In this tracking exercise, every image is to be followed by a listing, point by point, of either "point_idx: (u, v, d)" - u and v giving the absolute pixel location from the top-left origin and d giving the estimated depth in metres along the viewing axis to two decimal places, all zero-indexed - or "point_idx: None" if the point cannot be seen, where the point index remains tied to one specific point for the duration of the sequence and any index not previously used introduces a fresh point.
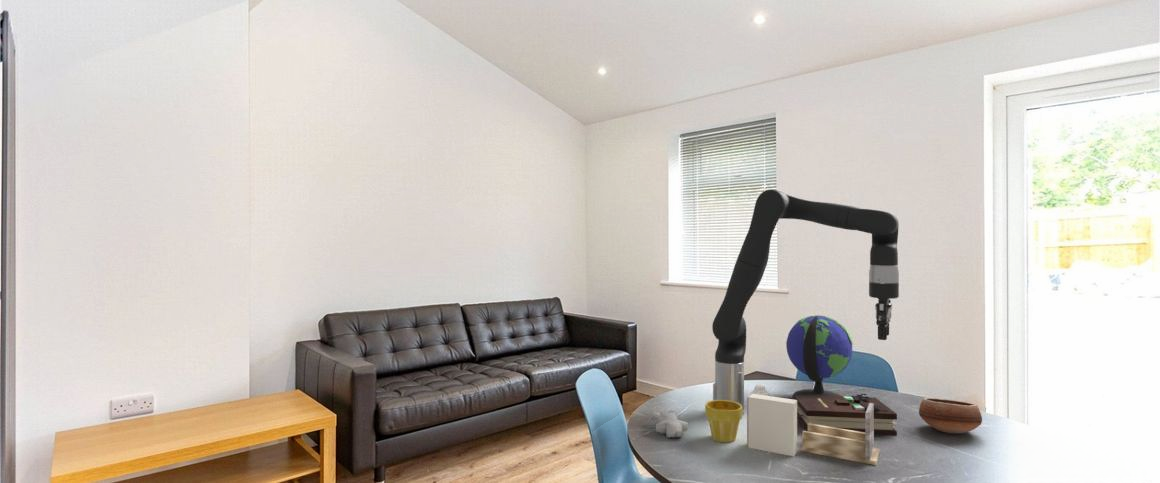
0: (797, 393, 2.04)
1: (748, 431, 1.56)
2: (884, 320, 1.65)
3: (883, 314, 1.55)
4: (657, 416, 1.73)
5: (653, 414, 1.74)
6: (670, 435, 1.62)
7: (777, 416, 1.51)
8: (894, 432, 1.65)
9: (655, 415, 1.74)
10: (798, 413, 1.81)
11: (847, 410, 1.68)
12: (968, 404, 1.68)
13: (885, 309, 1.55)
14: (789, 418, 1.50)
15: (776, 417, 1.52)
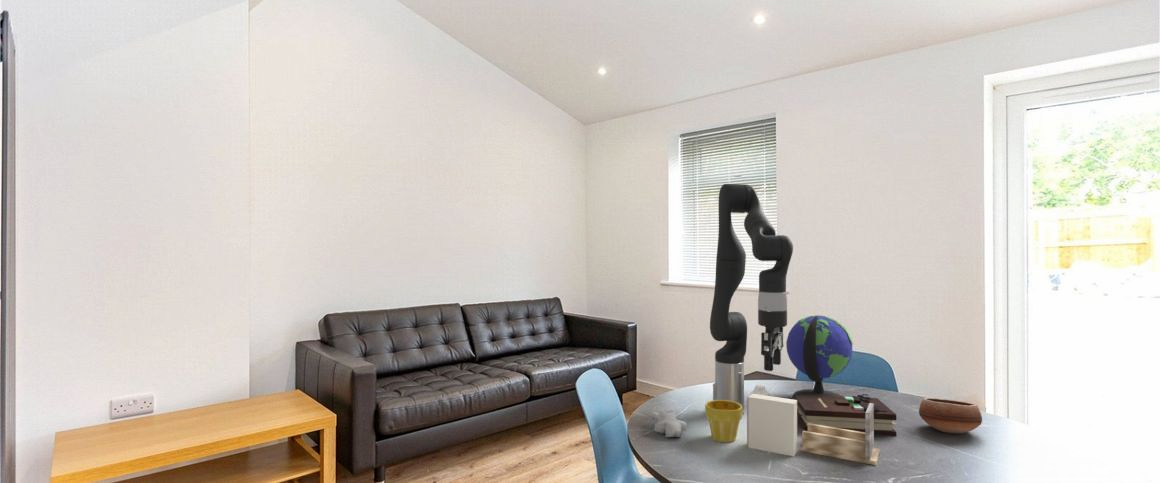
0: (797, 393, 2.04)
1: (748, 431, 1.56)
2: (776, 349, 1.58)
3: (767, 344, 1.48)
4: (656, 416, 1.73)
5: (652, 414, 1.75)
6: (669, 435, 1.62)
7: (777, 416, 1.51)
8: (893, 433, 1.64)
9: (654, 415, 1.74)
10: (798, 413, 1.82)
11: (846, 410, 1.68)
12: (968, 404, 1.68)
13: (769, 339, 1.48)
14: (789, 418, 1.50)
15: (776, 417, 1.52)
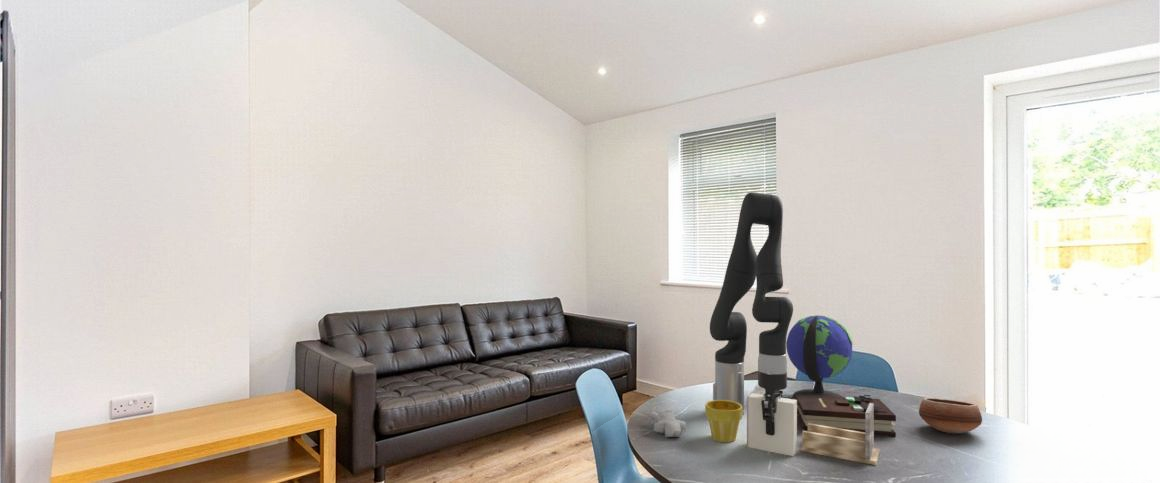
0: (797, 393, 2.04)
1: (748, 431, 1.56)
2: None
3: (768, 412, 1.49)
4: (655, 416, 1.73)
5: (651, 414, 1.75)
6: (669, 435, 1.62)
7: (777, 416, 1.51)
8: (893, 434, 1.64)
9: (653, 415, 1.74)
10: (799, 412, 1.82)
11: (845, 410, 1.68)
12: (968, 404, 1.68)
13: (770, 408, 1.48)
14: (789, 418, 1.50)
15: (776, 417, 1.52)
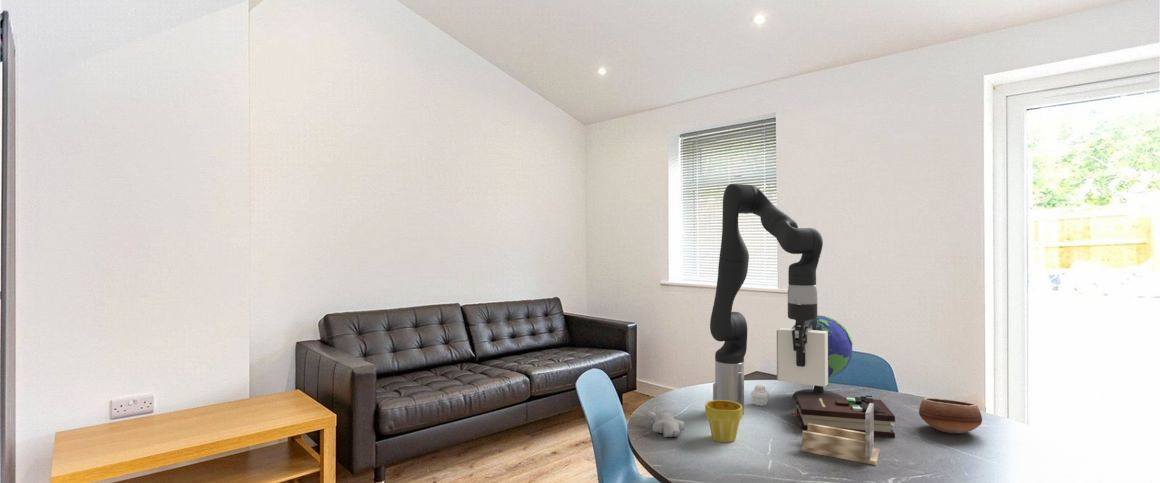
0: (797, 393, 2.04)
1: (778, 364, 1.55)
2: None
3: (799, 342, 1.48)
4: (652, 416, 1.73)
5: (648, 414, 1.75)
6: (668, 435, 1.62)
7: (808, 347, 1.50)
8: (892, 434, 1.63)
9: (650, 415, 1.74)
10: (799, 412, 1.82)
11: (844, 410, 1.68)
12: (968, 404, 1.68)
13: (800, 337, 1.47)
14: (820, 348, 1.49)
15: (807, 348, 1.50)
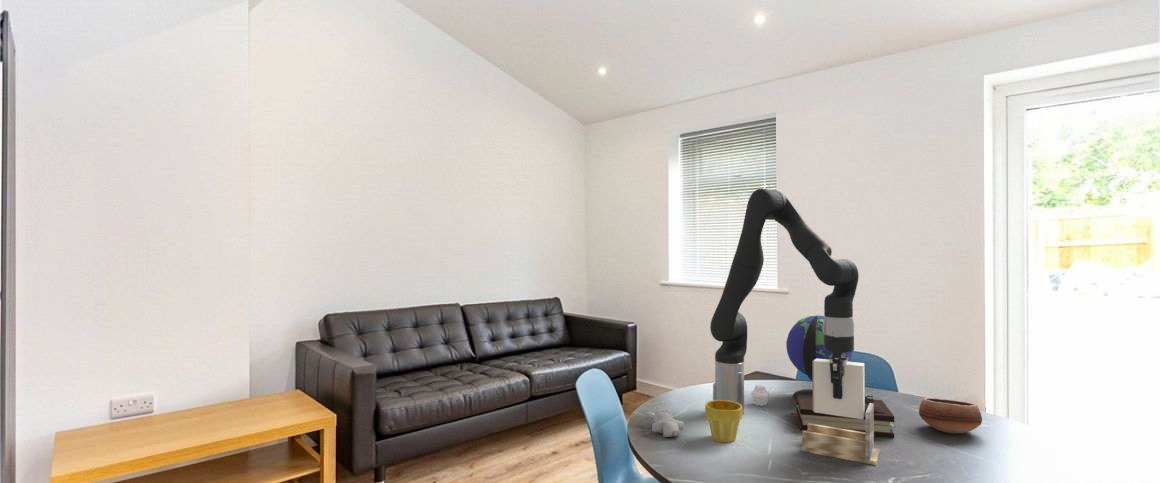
0: (797, 393, 2.04)
1: (814, 396, 1.54)
2: None
3: (837, 375, 1.47)
4: (652, 416, 1.73)
5: (647, 414, 1.75)
6: (667, 435, 1.62)
7: (845, 379, 1.50)
8: (891, 435, 1.63)
9: (649, 415, 1.74)
10: (799, 412, 1.82)
11: None
12: (968, 404, 1.68)
13: (839, 370, 1.47)
14: (858, 381, 1.48)
15: (844, 380, 1.50)
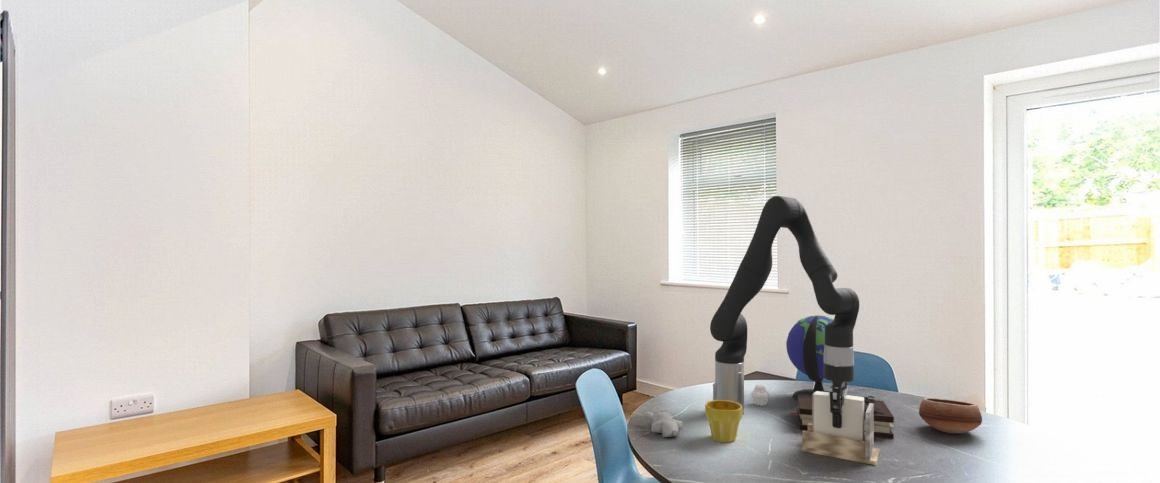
0: (797, 393, 2.04)
1: (813, 429, 1.54)
2: None
3: (837, 404, 1.47)
4: (651, 416, 1.73)
5: (646, 414, 1.75)
6: (667, 434, 1.62)
7: (845, 413, 1.50)
8: (891, 435, 1.62)
9: (648, 415, 1.74)
10: None
11: None
12: (968, 404, 1.68)
13: (838, 399, 1.46)
14: (857, 415, 1.48)
15: (844, 414, 1.50)
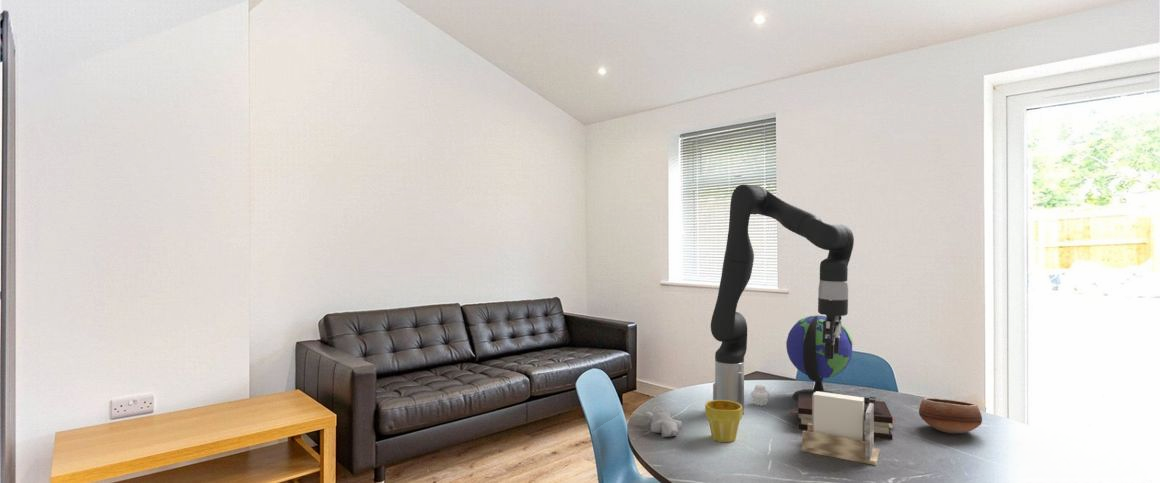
0: (797, 393, 2.04)
1: (813, 429, 1.54)
2: None
3: (829, 332, 1.49)
4: (650, 416, 1.73)
5: (645, 414, 1.75)
6: (666, 434, 1.62)
7: (845, 414, 1.50)
8: (889, 436, 1.62)
9: (648, 415, 1.74)
10: None
11: None
12: (968, 404, 1.68)
13: (831, 327, 1.49)
14: (857, 416, 1.48)
15: (844, 415, 1.50)
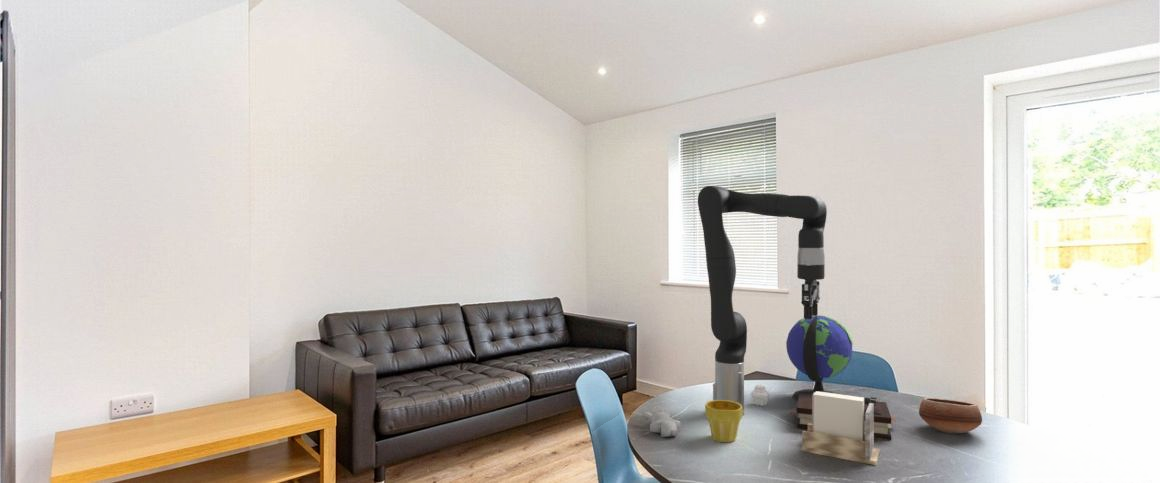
0: (797, 393, 2.04)
1: (813, 429, 1.54)
2: (813, 301, 1.72)
3: (807, 294, 1.62)
4: (649, 416, 1.73)
5: (644, 414, 1.75)
6: (666, 434, 1.62)
7: (845, 414, 1.50)
8: (888, 436, 1.61)
9: (646, 415, 1.74)
10: None
11: None
12: (968, 404, 1.68)
13: (809, 289, 1.62)
14: (857, 416, 1.48)
15: (844, 415, 1.50)
